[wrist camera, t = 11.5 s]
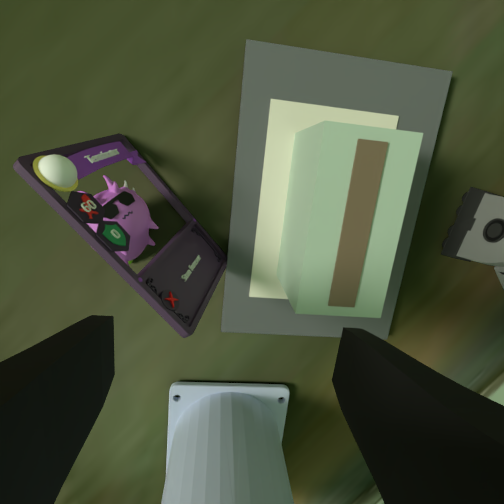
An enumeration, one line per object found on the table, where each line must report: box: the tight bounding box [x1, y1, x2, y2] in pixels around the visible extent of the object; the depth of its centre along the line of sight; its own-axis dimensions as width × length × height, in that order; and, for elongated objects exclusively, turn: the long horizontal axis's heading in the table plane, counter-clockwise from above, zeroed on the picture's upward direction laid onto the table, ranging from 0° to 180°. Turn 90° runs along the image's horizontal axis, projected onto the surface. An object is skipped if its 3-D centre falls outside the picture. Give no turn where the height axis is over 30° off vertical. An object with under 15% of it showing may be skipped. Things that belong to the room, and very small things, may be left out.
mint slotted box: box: [277, 121, 423, 318], centre depth 15 cm, size 4×8×5 cm, turn 174°
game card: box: [13, 134, 227, 338], centre depth 15 cm, size 7×5×9 cm
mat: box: [221, 39, 452, 339], centre depth 18 cm, size 16×11×1 cm
